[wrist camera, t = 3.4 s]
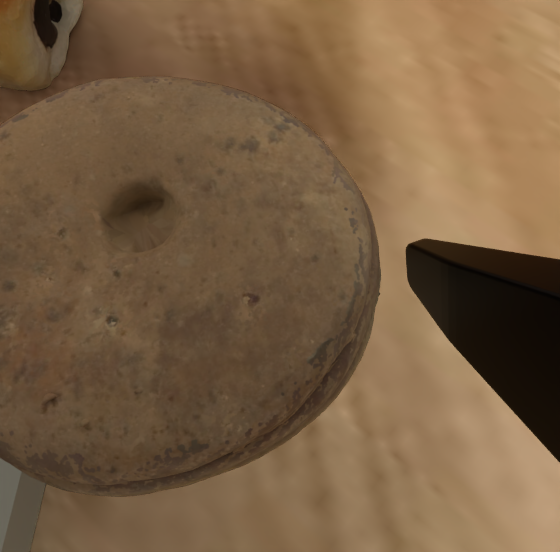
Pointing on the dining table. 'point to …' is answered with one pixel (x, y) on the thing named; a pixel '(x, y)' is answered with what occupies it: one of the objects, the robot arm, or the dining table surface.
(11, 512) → the tray
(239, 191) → the carving
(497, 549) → the dining table surface
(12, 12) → the pastry
